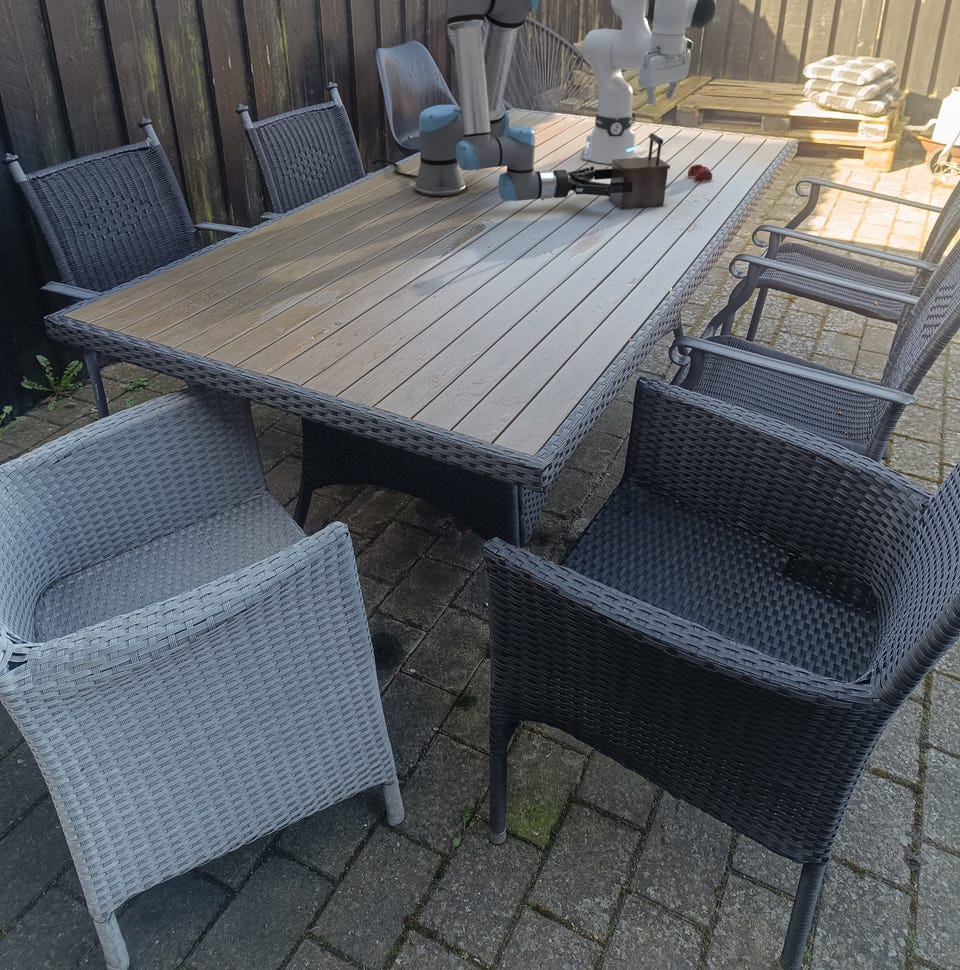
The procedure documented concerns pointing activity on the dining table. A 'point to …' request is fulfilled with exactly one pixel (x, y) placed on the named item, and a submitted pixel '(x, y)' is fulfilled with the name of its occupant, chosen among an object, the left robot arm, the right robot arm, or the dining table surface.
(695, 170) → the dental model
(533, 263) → the dining table surface
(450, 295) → the dining table surface
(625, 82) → the right robot arm
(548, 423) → the dining table surface
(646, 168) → the lid
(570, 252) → the dining table surface
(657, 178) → the chest
